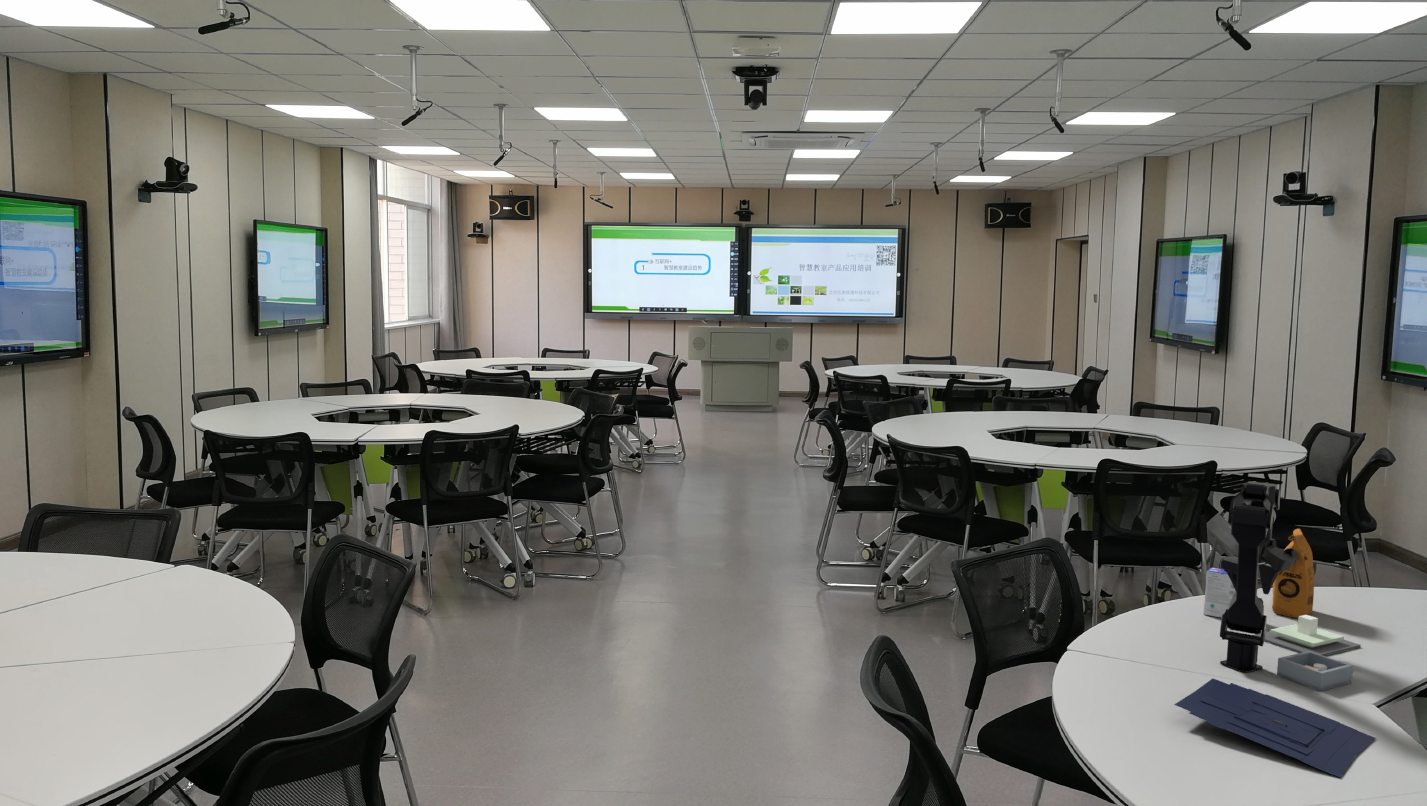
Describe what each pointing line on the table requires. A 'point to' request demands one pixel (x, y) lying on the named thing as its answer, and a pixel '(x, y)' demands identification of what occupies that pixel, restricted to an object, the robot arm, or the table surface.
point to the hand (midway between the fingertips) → (1253, 596)
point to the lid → (1307, 633)
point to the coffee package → (1295, 581)
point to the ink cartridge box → (1217, 592)
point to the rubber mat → (1322, 649)
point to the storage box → (1314, 670)
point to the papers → (1278, 725)
